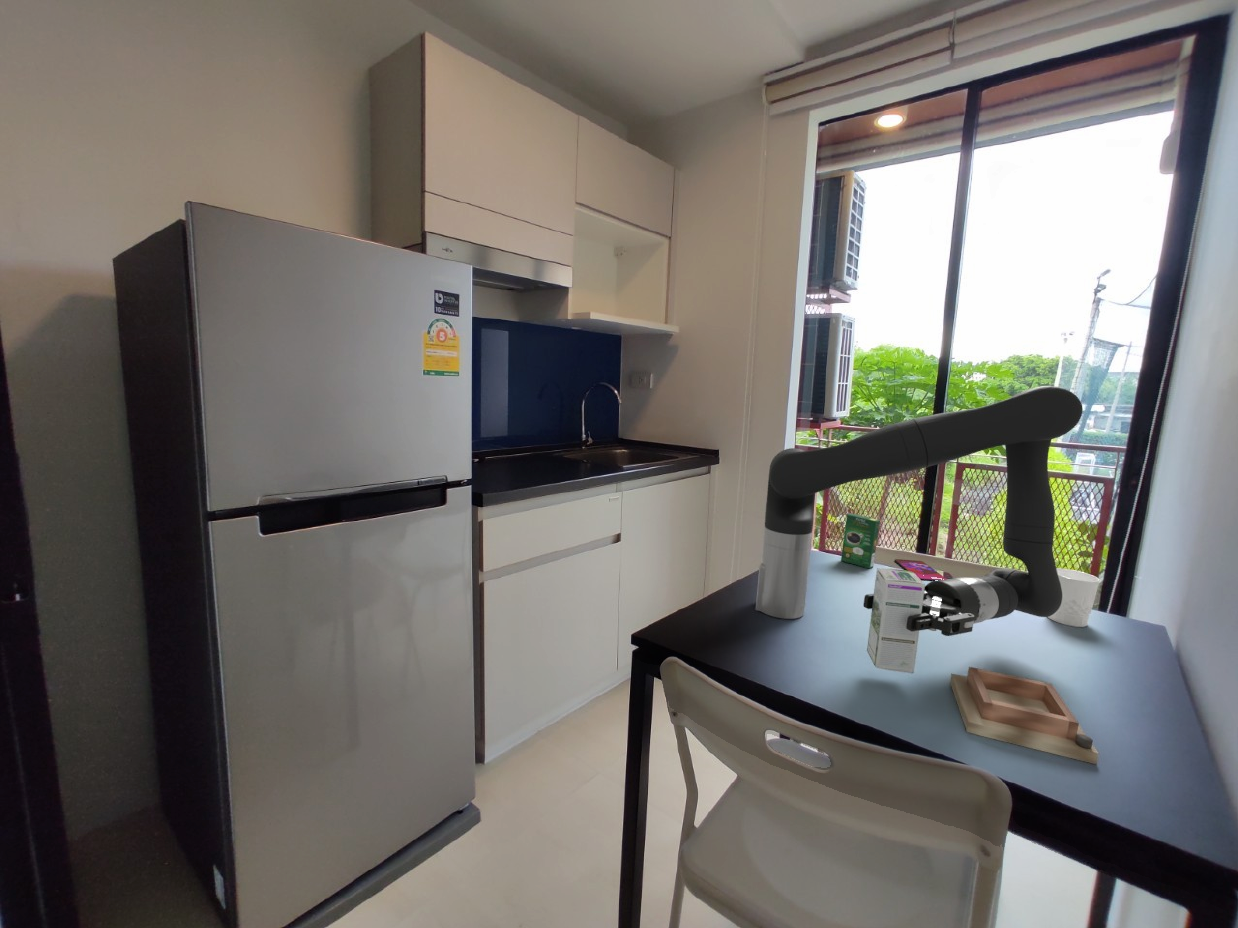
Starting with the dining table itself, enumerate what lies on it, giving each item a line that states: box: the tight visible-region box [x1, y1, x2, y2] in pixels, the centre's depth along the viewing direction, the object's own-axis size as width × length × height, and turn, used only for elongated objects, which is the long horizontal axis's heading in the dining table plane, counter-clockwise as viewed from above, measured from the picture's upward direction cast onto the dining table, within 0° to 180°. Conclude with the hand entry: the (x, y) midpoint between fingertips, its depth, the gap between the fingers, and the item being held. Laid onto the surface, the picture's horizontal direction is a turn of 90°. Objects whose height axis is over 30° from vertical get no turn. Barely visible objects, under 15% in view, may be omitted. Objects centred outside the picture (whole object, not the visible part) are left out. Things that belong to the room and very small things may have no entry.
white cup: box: [1047, 567, 1100, 628], centre depth 113 cm, size 8×8×10 cm
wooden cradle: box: [949, 666, 1100, 765], centre depth 77 cm, size 14×14×4 cm
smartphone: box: [894, 558, 947, 582], centre depth 141 cm, size 8×1×15 cm
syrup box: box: [866, 567, 926, 674], centre depth 85 cm, size 6×6×14 cm
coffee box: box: [840, 513, 881, 570], centre depth 143 cm, size 8×3×13 cm, turn 44°
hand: (886, 612), depth 84 cm, fingers closed on syrup box, 7 cm apart
